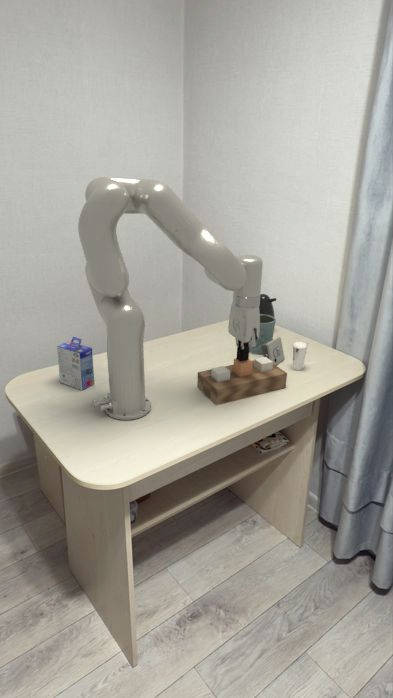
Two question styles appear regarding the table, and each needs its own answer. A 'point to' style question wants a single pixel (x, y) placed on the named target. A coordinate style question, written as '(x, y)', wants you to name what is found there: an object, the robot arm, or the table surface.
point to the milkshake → (299, 355)
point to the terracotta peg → (242, 367)
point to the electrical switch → (273, 350)
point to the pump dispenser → (266, 305)
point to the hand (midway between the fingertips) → (242, 359)
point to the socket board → (241, 384)
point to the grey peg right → (263, 364)
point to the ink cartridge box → (75, 364)
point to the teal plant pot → (264, 333)
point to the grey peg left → (220, 374)
